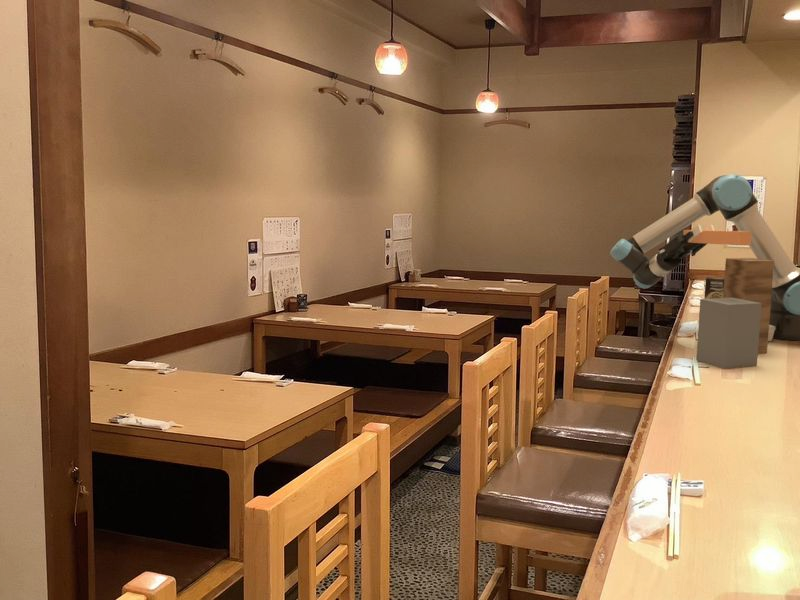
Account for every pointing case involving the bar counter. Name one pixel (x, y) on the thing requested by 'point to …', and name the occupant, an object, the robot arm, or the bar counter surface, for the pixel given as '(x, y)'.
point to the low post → (728, 332)
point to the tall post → (751, 288)
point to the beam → (722, 237)
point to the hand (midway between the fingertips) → (706, 228)
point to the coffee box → (714, 288)
